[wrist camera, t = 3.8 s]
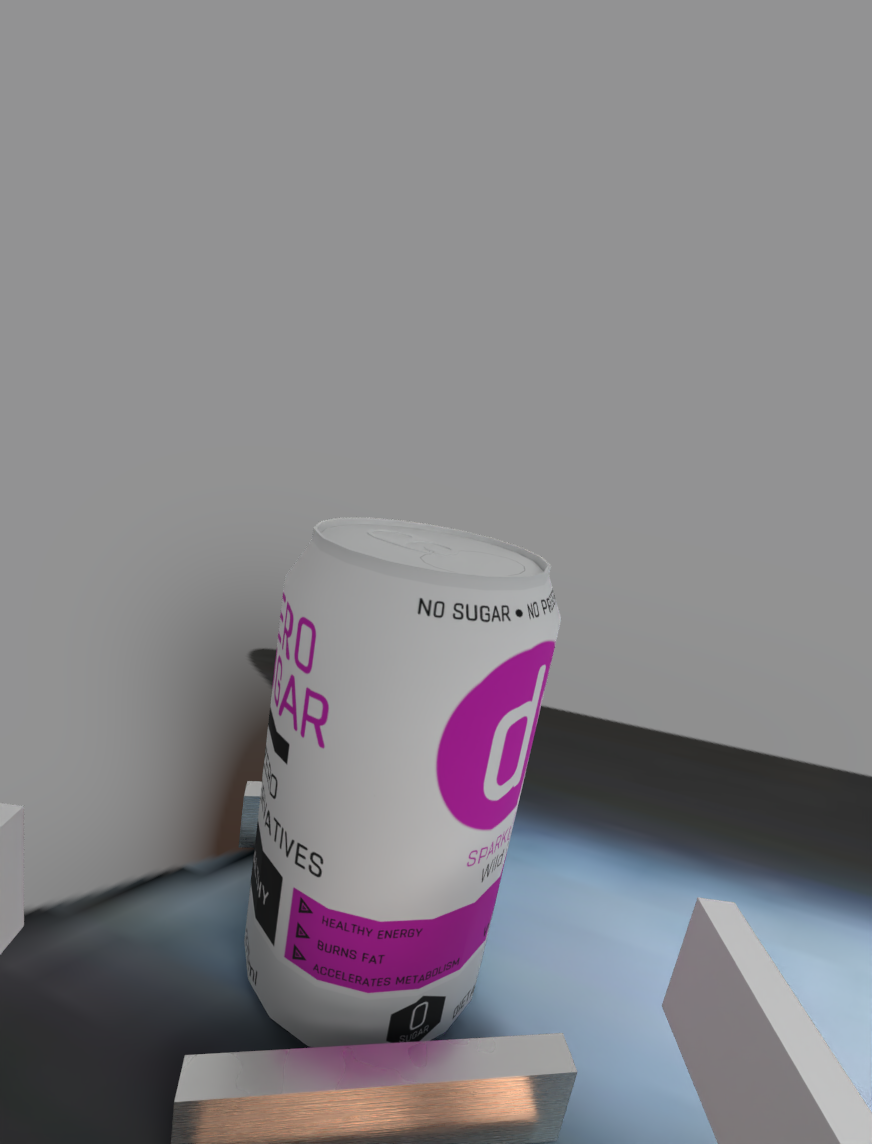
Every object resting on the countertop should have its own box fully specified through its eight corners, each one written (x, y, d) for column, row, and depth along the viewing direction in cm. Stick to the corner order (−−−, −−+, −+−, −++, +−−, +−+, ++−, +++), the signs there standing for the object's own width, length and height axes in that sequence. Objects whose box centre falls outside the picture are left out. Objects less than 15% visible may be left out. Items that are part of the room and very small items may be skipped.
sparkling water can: (517, 952, 21) (613, 568, 18) (364, 1150, 15) (469, 602, 11) (362, 837, 26) (415, 513, 22) (192, 949, 19) (230, 514, 16)
